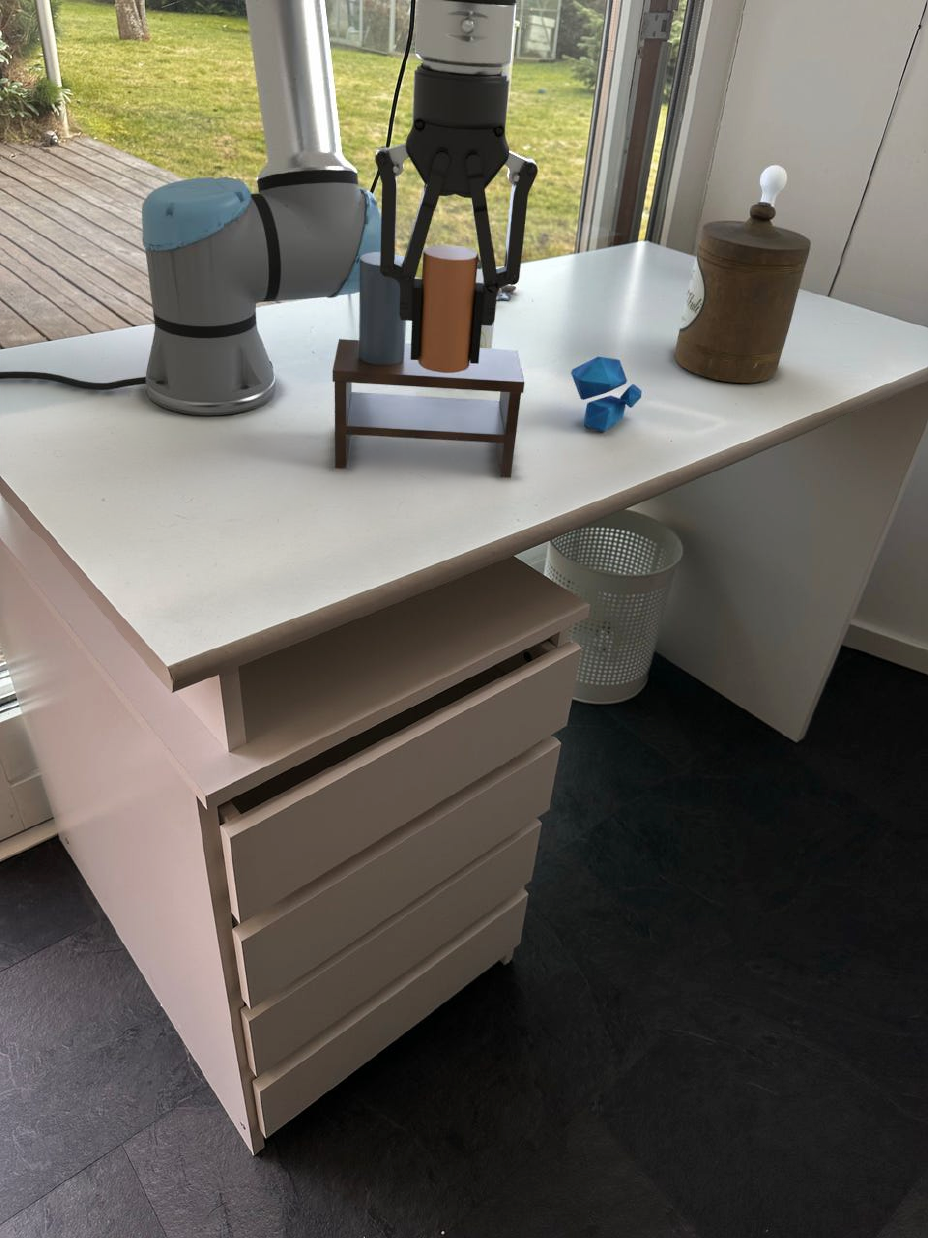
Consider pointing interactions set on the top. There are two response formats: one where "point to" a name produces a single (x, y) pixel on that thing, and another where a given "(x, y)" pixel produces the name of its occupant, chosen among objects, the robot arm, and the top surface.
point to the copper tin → (447, 307)
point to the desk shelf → (428, 402)
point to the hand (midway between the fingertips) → (444, 355)
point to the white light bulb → (772, 183)
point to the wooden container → (741, 298)
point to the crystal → (603, 392)
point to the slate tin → (379, 314)
